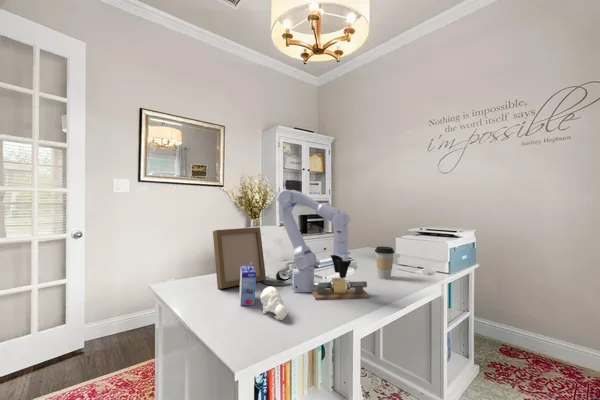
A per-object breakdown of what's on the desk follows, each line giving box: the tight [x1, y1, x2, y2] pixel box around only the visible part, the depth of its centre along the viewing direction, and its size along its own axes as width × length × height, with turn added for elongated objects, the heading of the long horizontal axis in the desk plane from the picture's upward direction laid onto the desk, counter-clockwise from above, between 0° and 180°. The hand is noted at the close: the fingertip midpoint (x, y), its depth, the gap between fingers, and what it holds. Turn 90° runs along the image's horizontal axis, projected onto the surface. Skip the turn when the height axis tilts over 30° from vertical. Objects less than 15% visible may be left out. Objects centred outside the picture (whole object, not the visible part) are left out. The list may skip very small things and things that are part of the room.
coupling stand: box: [311, 279, 371, 301], centre depth 112 cm, size 22×9×6 cm, turn 97°
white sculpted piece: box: [259, 286, 288, 321], centre depth 92 cm, size 6×8×12 cm
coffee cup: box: [374, 245, 395, 280], centre depth 138 cm, size 9×9×15 cm
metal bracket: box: [268, 265, 297, 285], centre depth 135 cm, size 14×6×15 cm
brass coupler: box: [331, 277, 347, 294], centre depth 112 cm, size 5×4×6 cm
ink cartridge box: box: [238, 262, 257, 307], centre depth 104 cm, size 10×6×14 cm, turn 15°
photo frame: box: [212, 226, 267, 289], centre depth 128 cm, size 15×22×25 cm
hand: (340, 274), depth 112 cm, fingers open, 7 cm apart
